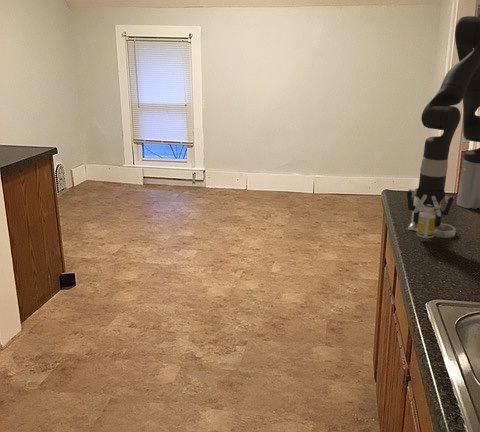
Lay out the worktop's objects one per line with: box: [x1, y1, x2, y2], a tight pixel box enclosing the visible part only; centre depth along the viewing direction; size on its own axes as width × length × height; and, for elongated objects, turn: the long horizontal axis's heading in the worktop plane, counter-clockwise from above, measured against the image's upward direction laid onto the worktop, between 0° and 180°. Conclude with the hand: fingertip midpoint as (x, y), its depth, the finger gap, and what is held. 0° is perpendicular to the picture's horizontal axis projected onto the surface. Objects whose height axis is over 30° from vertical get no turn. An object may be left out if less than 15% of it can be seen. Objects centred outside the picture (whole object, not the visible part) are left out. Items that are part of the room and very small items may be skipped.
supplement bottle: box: [416, 204, 437, 239], centre depth 174 cm, size 5×5×10 cm
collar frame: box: [407, 196, 457, 239], centre depth 182 cm, size 8×14×11 cm, turn 63°
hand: (426, 224), depth 175 cm, fingers closed on supplement bottle, 5 cm apart
